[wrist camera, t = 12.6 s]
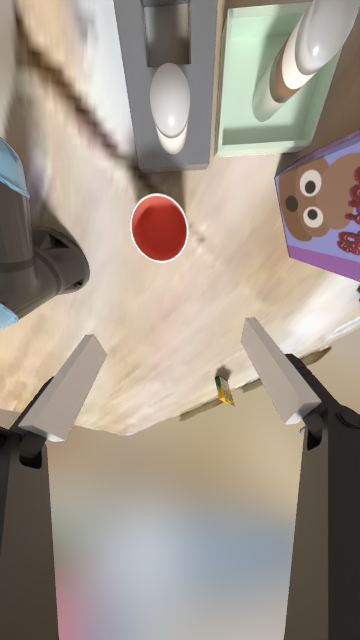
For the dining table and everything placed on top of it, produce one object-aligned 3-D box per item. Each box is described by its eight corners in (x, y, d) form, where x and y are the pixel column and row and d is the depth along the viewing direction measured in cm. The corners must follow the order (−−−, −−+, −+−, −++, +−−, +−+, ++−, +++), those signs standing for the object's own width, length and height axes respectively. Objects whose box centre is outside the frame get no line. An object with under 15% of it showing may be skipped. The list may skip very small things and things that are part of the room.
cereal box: (274, 177, 27) (506, 80, 8) (301, 157, 26) (668, -22, 7) (289, 257, 36) (418, 302, 17) (310, 245, 35) (479, 280, 15)
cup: (149, 189, 28) (138, 177, 20) (193, 215, 31) (199, 214, 23) (137, 240, 33) (124, 248, 25) (175, 259, 36) (174, 271, 28)
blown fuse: (249, 123, 23) (299, 65, 14) (255, 74, 20) (321, -36, 12) (276, 120, 23) (343, 59, 14) (286, 70, 20) (375, -44, 12)
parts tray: (213, 157, 26) (217, 151, 23) (221, 36, 19) (228, 8, 17) (297, 152, 25) (310, 145, 23) (334, 26, 19) (358, -3, 16)
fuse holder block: (143, 173, 27) (125, 151, 18) (116, -10, 17) (53, -248, 9) (205, 169, 27) (219, 144, 18) (213, -19, 17) (252, -273, 8)
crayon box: (214, 378, 68) (220, 403, 59) (219, 375, 67) (226, 401, 58) (222, 383, 72) (229, 408, 62) (227, 381, 70) (235, 406, 61)
